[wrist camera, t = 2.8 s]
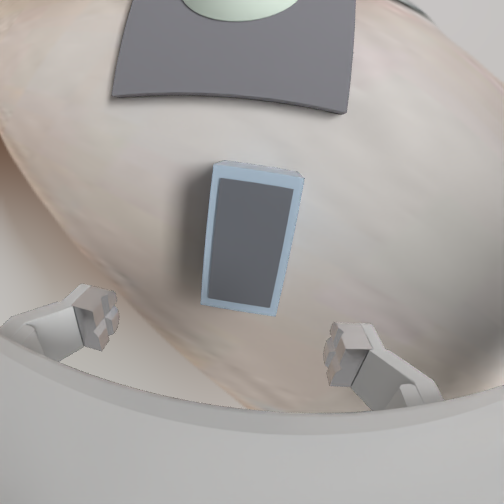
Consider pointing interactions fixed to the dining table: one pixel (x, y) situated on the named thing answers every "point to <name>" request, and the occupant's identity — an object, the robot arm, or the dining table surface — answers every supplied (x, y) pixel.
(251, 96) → the charging mat
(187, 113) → the dining table surface
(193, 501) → the robot arm
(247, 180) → the phone
